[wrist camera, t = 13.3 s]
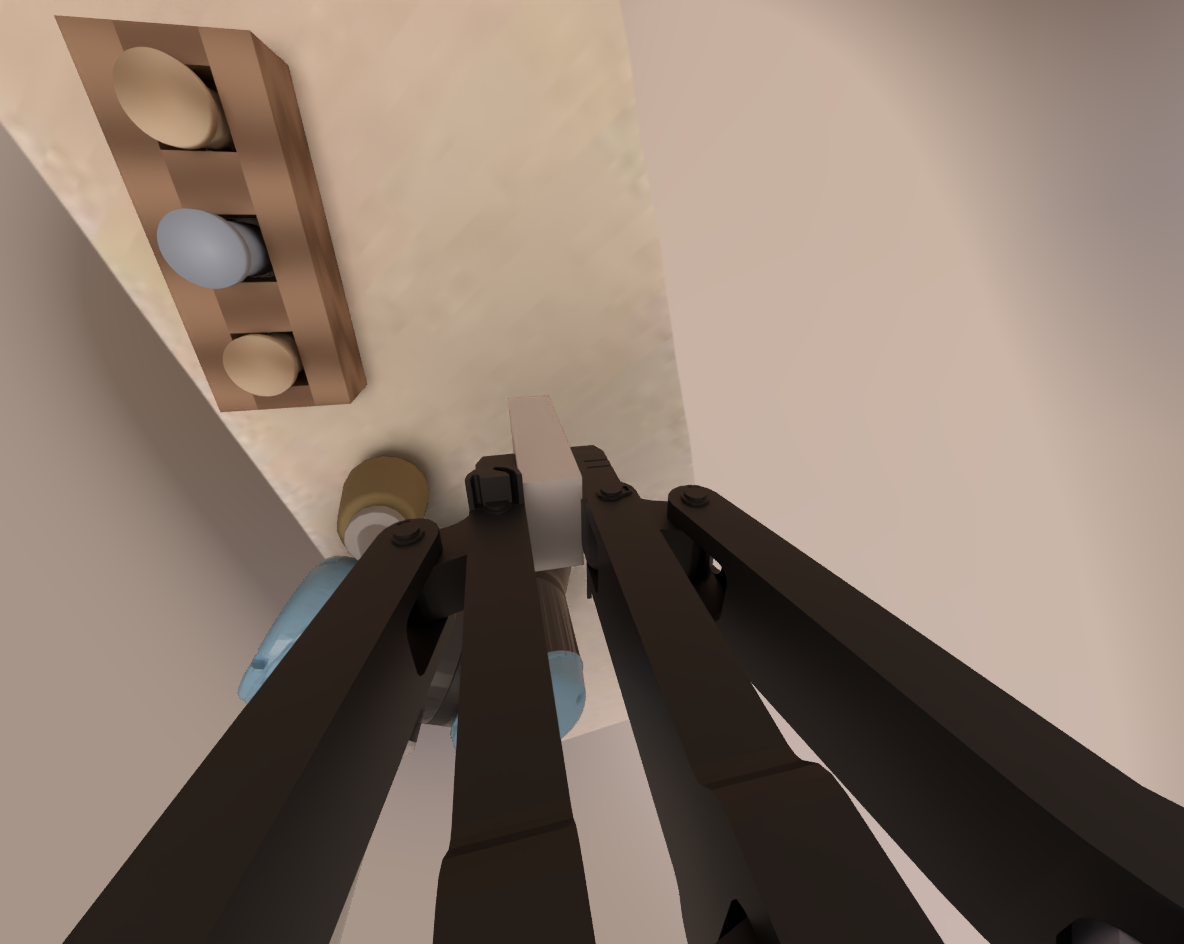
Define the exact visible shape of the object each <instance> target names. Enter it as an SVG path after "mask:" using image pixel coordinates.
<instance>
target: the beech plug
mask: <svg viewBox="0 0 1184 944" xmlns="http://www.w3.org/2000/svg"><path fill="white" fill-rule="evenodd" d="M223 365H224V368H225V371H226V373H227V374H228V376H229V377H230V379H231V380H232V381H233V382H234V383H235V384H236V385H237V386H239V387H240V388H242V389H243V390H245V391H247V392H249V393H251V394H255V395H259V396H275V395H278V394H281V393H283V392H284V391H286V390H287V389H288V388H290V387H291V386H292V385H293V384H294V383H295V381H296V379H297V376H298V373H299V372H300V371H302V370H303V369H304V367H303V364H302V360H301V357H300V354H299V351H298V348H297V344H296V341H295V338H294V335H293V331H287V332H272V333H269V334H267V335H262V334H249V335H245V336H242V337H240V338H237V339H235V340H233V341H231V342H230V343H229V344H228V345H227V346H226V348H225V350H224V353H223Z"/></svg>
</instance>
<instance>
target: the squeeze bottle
mask: <svg viewBox="0 0 1184 944" xmlns="http://www.w3.org/2000/svg"><path fill="white" fill-rule="evenodd" d="M428 498H429V487H428V484H427V481H426V479H425V476H424V475H423V474H422V473H421V472H420V471H419V469H418V468H417V467H416V466H415V465H414V464H411V463H409V462H407V461H405V460H403V459H401V458H397V457H386V456H380V457H377V458H373V459H369V460H365V461H364V462H362V463H361V464H360V465H358V466H357V467H356V468H354V469H353V470H352V471H351V472H350V474H349V476H348V478H347V479H346V481H345V483H344V487H343V492H342V497H341V502H340V508H339V513H338V521H337V532H338V534H339V537H340V539H341V541H342V543H343V545H345V546H346V548H347V551H348V553H350V554H351V555H352V556H353V557H354V558H355V559H357V560H359V559H360V558H361V556H362V555H363V554H364V552H365V551H366V550H367V549H368V547H369V546H370V545H371V543H372V542H373V541H374V539H375V538H376V537H377V536H378V534H380V533H381V532H382V531H383V530H384V529H385V528H387V527H389V526H390V525H392V524H394V523H396V522H399V521H404V520H406V519H416V518H421V519H423V518H424V515H425V511H426V508H427V505H428Z"/></svg>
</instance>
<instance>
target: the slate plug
mask: <svg viewBox="0 0 1184 944" xmlns="http://www.w3.org/2000/svg"><path fill="white" fill-rule="evenodd" d="M157 241H158V246H159V249H160V251H161V253H162V255H163V257H164V259H165V260H166V262H167V263H168V264H169V266H170V267H171V268H172V269H173V270H174V271H175V272H176V273H177V274H179V275H180V276H181V277H183V278H184V279H186V280H187V281H189V282H191V283H193V284H195V285H198V286H201V287H205V288H210V289H220V288H226V287H231V286H235V285H237V284H239V283H241V282H242V281H243V280H244V279H245V278H246V277H247V276H253V275H260V274H266V273H269V272H271V271H272V270H273V267H272V264H271V261H270V257H269V254H268V251H267V248H266V245H265V241H264V238H263V235H262V232H261V228H260V227H258V226H256V225H254V224H250V223H243V222H232V221H226V220H225V219H223V218H222V217H220V216H218V215H216V214H214V213H211V212H208V211H204V210H197V209H187V208H186V209H177V210H174V211H171V212H169V213H168V214H166V215H165V216H164V217H163V218H162V220H161V221H160V223H159V225H158V229H157Z"/></svg>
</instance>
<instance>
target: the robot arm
mask: <svg viewBox="0 0 1184 944" xmlns="http://www.w3.org/2000/svg"><path fill="white" fill-rule="evenodd" d="M508 402H509V412H510V422H511V432H512V442H513V453H514V454H505V455H495V456H484V457H482V458H481V459H480V460H479V462H478V463H477V464H476V469H475V470H473V471H472V472H471V473H469V474H468V475H467V476H466V478H465V485H466V491H467V498H468V504H469V510H470V511H469V516H468V517H467V518H466V519H464V520H463V521H461V522H459V523H457V524H455V525H452V526H450V527H446V528H443V529H440V530H439V528H438V526H437V524H436V523H434V522H433V521H431V520H428V519H421V518H416V519H406V520H404V521H399V522H396V523H394V524H392V525H390V526H389V527H387V528H385V529H384V530H383V531H382V532H381V533H380V534H378V536H377V537H376V538H375V539H374V541H373V542H372V543H371V545H370V546H369V547H368V549H367V550H366V551H365V552H364V554H363V555H362V556H361V558H360V559H359V560H357V559H355V558H351V557H347V556H333V557H330V558H327V559H325V560H323V561H322V562H320V563H319V564H317V565H316V566H315V567H314V568H313V569H312V570H311V571H310V573H309V574H308V575H307V576H306V577H305V579H304V580H303V581H302V582H301V584H300V585H299V587H298V588H297V589H296V591H295V592H294V593H293V595H292V596H291V598H290V599H289V601H288V602H287V604H286V605H285V607H284V608H283V610H282V611H281V613H280V614H279V616H278V617H277V619H276V620H275V622H274V623H273V625H272V627H271V628H270V630H269V632H268V633H267V635H266V636H265V638H264V640H263V642H262V643H261V645H260V647H259V649H258V653H257V655H255V657H254V659H253V661H252V663H251V665H250V666H249V667H248V669H247V670H246V672H245V674H244V676H243V678H242V680H241V683H240V685H239V688H238V696H239V698H240V699H241V700H243V701H245V703H246V704H247V705H246V707H245V708H244V709H243V710H242V712H241V713H240V714H239V716H238V717H237V718H236V719H235V721H234V722H233V723H232V725H231V726H230V727H229V728H228V730H227V731H226V732H225V734H224V735H223V737H222V738H221V739H220V740H219V741H218V743H217V744H216V745H215V747H214V748H213V749H212V750H211V752H210V753H209V754H208V756H207V757H206V758H205V760H204V761H203V762H202V763H201V765H200V766H199V767H198V769H197V770H196V771H195V773H194V774H193V775H192V776H191V778H190V779H189V780H188V782H187V783H186V784H185V785H184V787H183V788H182V789H181V791H180V792H179V793H178V795H177V796H176V797H175V798H174V800H173V801H172V802H171V804H170V805H169V806H168V807H167V809H166V810H165V811H164V813H163V814H162V815H161V817H160V818H159V819H158V820H157V822H156V823H155V824H154V826H153V827H152V828H151V830H150V831H149V832H148V833H147V835H146V836H145V837H144V838H143V840H142V841H141V842H140V844H139V845H138V846H137V848H136V849H135V850H134V851H133V853H132V854H131V855H130V857H129V858H128V860H127V861H126V862H125V863H124V864H123V866H122V867H121V868H120V870H119V871H118V872H117V873H116V875H115V876H114V877H113V879H112V880H111V881H110V882H109V884H108V885H107V886H106V888H105V889H104V890H103V892H102V893H101V894H100V895H99V897H98V898H97V899H96V901H95V902H94V903H93V904H92V906H91V907H90V908H89V910H88V911H87V912H86V914H85V915H84V916H83V917H82V919H81V920H80V921H79V923H78V924H77V925H76V926H75V928H74V929H73V930H72V932H71V933H70V934H69V936H68V937H67V938H66V939H65V941H64V942H63V944H340V940H341V937H342V933H343V929H344V925H345V922H346V919H347V915H348V911H349V908H350V904H351V900H352V897H353V893H354V890H355V886H356V883H357V879H358V875H359V872H360V868H361V865H362V861H363V857H364V854H365V851H366V849H367V846H368V843H369V840H370V838H371V836H372V833H373V831H374V828H375V826H376V823H377V820H378V818H379V815H380V812H381V810H382V808H383V805H384V803H385V800H386V798H387V795H388V792H389V790H390V787H391V785H392V782H393V780H394V777H395V774H396V772H397V769H398V767H399V764H400V762H401V760H402V759H403V758H404V757H405V756H407V755H408V754H409V753H410V752H411V751H412V750H414V749H415V746H416V742H417V737H418V734H419V730H420V726H421V724H422V723H424V724H432V725H440V726H446V727H451V733H450V734H451V739H452V742H453V744H454V747H455V749H456V760H455V776H454V794H453V813H452V829H451V840H450V845H449V850H448V852H447V853H446V855H445V856H444V858H443V860H442V864H441V869H440V873H439V879H438V888H437V897H436V908H435V921H434V935H433V944H596V943H595V936H594V930H593V924H592V918H591V912H590V905H589V899H588V892H587V886H586V880H585V873H584V867H583V861H582V855H581V849H580V843H579V838H578V833H577V828H576V824H575V821H574V818H573V814H572V808H571V802H570V796H569V789H568V783H567V776H566V770H565V763H564V757H563V750H562V744H561V739H562V738H563V737H564V736H565V735H566V734H567V733H568V732H569V731H570V730H571V729H572V728H573V727H574V725H575V724H576V722H577V721H578V719H579V718H580V716H581V714H582V711H583V708H584V705H585V699H586V691H585V684H584V677H583V662H582V660H581V658H580V654H579V650H578V646H577V642H576V638H575V634H574V630H573V626H572V622H571V618H570V613H569V609H568V605H567V601H566V597H565V594H566V589H567V584H568V580H569V575H570V570H571V566H577V565H584V558H583V551H584V554H585V557H586V560H587V599H590V598H591V595H593V599H594V602H595V606H596V609H597V612H598V616H599V619H600V622H601V626H602V629H603V632H604V636H605V639H606V643H607V646H608V649H609V653H610V656H611V659H612V663H613V666H614V669H615V673H616V676H617V680H618V683H619V686H620V690H621V693H622V696H623V700H624V703H625V706H626V710H627V713H628V717H629V720H630V723H631V726H632V730H633V733H634V737H635V740H636V743H637V746H638V750H639V753H640V757H641V760H642V764H643V767H644V770H645V774H646V777H647V780H648V784H649V787H650V790H651V793H652V797H653V800H654V804H655V807H656V811H657V814H658V817H659V821H660V824H661V827H662V831H663V834H664V838H665V841H666V844H667V848H668V851H669V854H670V858H671V861H672V864H673V868H674V871H675V875H676V879H677V884H678V889H679V895H680V902H681V910H682V918H683V923H684V928H685V932H686V938H687V941H688V944H944V943H943V941H942V939H941V938H940V936H939V935H938V933H937V932H936V930H935V929H934V927H933V925H932V924H931V922H930V921H929V919H928V918H927V916H926V915H925V913H924V911H923V910H922V908H921V907H920V905H919V904H918V902H917V901H916V899H915V898H914V896H913V895H912V893H911V892H910V890H909V888H908V887H907V886H906V884H905V882H904V881H903V879H902V878H901V876H900V875H899V873H898V872H897V870H896V869H895V867H894V865H893V864H892V862H891V861H890V859H889V858H888V856H887V855H886V853H885V852H884V850H883V849H882V847H881V846H880V844H879V842H878V841H877V839H876V838H875V836H874V835H873V833H872V832H871V830H870V829H869V827H868V826H867V824H866V822H865V821H864V819H863V818H862V817H861V815H860V813H859V812H858V811H857V809H856V807H855V806H854V804H853V803H852V801H851V799H850V798H849V796H848V795H847V793H846V792H845V791H844V789H843V788H842V787H841V785H840V784H839V783H838V782H837V780H836V779H835V778H834V776H833V775H832V774H831V773H830V772H829V771H827V770H826V769H825V768H824V767H822V766H821V765H820V764H819V763H815V762H809V761H804V760H801V759H800V758H799V757H798V756H796V755H795V754H794V752H793V751H792V749H791V748H790V747H789V745H788V744H787V742H786V741H785V739H784V737H783V735H782V734H781V732H780V730H779V729H778V727H777V726H776V724H775V722H774V720H773V719H772V717H771V715H770V714H769V712H768V710H767V709H766V707H765V706H764V704H763V702H762V700H761V699H760V697H759V695H758V694H757V692H756V690H755V689H754V687H753V685H754V686H755V687H756V688H757V689H758V691H759V692H760V693H761V694H762V695H763V696H764V697H765V698H766V699H767V700H768V702H769V703H770V704H771V705H772V706H773V707H774V708H775V709H776V710H777V712H778V713H779V714H780V715H781V716H782V717H783V718H784V719H785V720H786V721H787V723H788V724H789V725H790V726H791V727H792V728H793V729H794V730H795V731H796V733H797V734H798V735H799V736H800V737H801V738H802V739H803V740H804V741H805V743H806V744H807V745H808V746H809V747H810V748H811V749H812V750H813V751H814V752H815V754H816V755H817V756H818V757H819V758H820V759H821V760H822V761H823V762H824V764H825V765H826V766H827V767H828V768H829V769H830V770H831V771H832V772H833V774H834V775H835V776H836V777H837V778H838V779H839V780H840V781H841V782H842V783H843V785H844V786H845V787H846V788H847V789H848V790H849V791H850V792H851V794H852V795H853V796H854V797H855V798H856V799H857V800H858V801H859V802H860V804H861V805H862V806H863V807H864V808H865V809H866V810H867V811H868V812H869V813H870V815H871V816H872V817H873V818H874V819H875V820H876V821H877V822H878V823H879V824H880V826H881V827H882V828H883V829H884V830H885V831H886V832H887V833H888V835H889V836H890V837H891V838H892V839H893V840H894V841H895V842H896V843H897V844H898V846H899V847H900V848H901V849H902V850H903V851H904V852H905V853H906V854H907V856H908V857H909V858H910V859H911V860H912V861H913V862H914V863H915V864H916V866H917V867H918V868H919V869H920V870H921V871H922V872H923V873H924V874H925V875H926V877H927V878H928V879H929V880H930V881H931V882H932V883H933V884H934V885H935V887H936V888H937V889H938V890H939V891H940V892H941V893H942V894H943V895H944V896H945V897H946V898H947V899H948V901H949V902H950V903H951V904H952V905H953V906H954V907H955V908H956V909H957V910H958V911H959V912H960V913H961V914H962V915H963V916H964V917H965V918H966V919H967V920H968V921H969V922H970V924H971V925H972V926H973V927H974V928H975V929H976V930H977V931H978V932H979V933H980V934H981V935H982V936H983V937H984V938H985V939H986V940H987V941H988V942H989V943H990V944H1184V807H1182V806H1180V805H1178V804H1176V803H1174V802H1172V801H1170V800H1168V799H1166V798H1164V797H1162V796H1160V795H1158V794H1157V793H1155V792H1152V791H1151V790H1148V789H1147V788H1145V787H1143V786H1141V785H1140V784H1138V783H1137V782H1135V781H1134V780H1132V779H1131V778H1130V777H1128V776H1127V775H1125V774H1124V773H1122V772H1121V771H1119V770H1118V769H1116V768H1115V767H1114V766H1112V765H1110V764H1109V763H1108V762H1106V761H1105V760H1103V759H1102V758H1101V757H1099V756H1098V755H1096V754H1095V753H1093V752H1092V751H1090V750H1089V749H1087V748H1086V747H1085V746H1083V745H1082V744H1080V743H1079V742H1077V741H1076V740H1074V739H1073V738H1072V737H1070V736H1069V735H1067V734H1066V733H1064V732H1063V731H1061V730H1060V729H1058V728H1057V727H1056V726H1054V725H1053V724H1051V723H1050V722H1048V721H1047V720H1045V719H1044V718H1042V717H1041V716H1040V715H1038V714H1037V713H1035V712H1034V711H1032V710H1031V709H1029V708H1028V707H1027V706H1025V705H1024V704H1022V703H1021V702H1019V701H1018V700H1016V699H1015V698H1014V697H1012V696H1011V695H1009V694H1008V693H1006V692H1005V691H1003V690H1002V689H1000V688H999V687H998V686H996V685H995V684H993V683H992V682H990V681H989V680H987V679H986V678H985V677H983V676H982V675H980V674H978V673H977V672H976V671H974V670H973V669H971V668H970V667H969V666H967V665H966V664H964V663H963V662H961V661H960V660H958V659H957V658H955V657H954V656H953V655H951V654H950V653H948V652H947V651H945V650H944V649H942V648H941V647H940V646H938V645H937V644H935V643H934V642H932V641H931V640H929V639H928V638H927V637H925V636H924V635H922V634H921V633H919V632H918V631H916V630H915V629H913V628H912V627H911V626H909V625H908V624H906V623H905V622H903V621H902V620H900V619H899V618H898V617H896V616H895V615H893V614H892V613H890V612H889V611H887V610H886V609H884V608H883V607H881V606H880V605H879V604H877V603H876V602H874V601H873V600H871V599H870V598H868V597H867V596H866V595H864V594H863V593H861V592H859V591H858V590H857V589H855V588H854V587H852V586H851V585H850V584H848V583H847V582H845V581H844V580H842V579H841V578H839V577H838V576H836V575H835V574H833V573H832V572H831V571H829V570H828V569H826V568H825V567H823V566H822V565H821V564H819V563H818V562H816V561H815V560H813V559H812V558H810V557H809V556H808V555H806V554H805V553H803V552H802V551H800V550H799V549H797V548H796V547H795V546H793V545H792V544H790V543H789V542H787V541H786V540H784V539H783V538H781V537H780V536H779V535H777V534H776V533H774V532H773V531H771V530H770V529H768V528H767V527H766V526H764V525H763V524H761V523H759V522H758V521H757V520H755V519H754V518H752V517H751V516H750V515H748V514H747V513H745V512H744V511H742V510H741V509H739V508H738V507H736V506H735V505H734V504H732V503H731V502H729V501H728V500H726V499H725V498H723V497H722V496H720V495H719V494H718V493H716V492H714V491H712V490H710V489H708V488H704V487H701V486H698V485H694V486H693V485H686V486H679V487H677V488H675V489H672V490H671V492H670V493H669V494H668V502H667V501H652V500H645V499H641V498H640V496H639V495H638V493H637V491H636V490H635V489H634V488H633V487H632V486H630V485H628V484H626V483H623V482H620V480H619V478H618V477H617V475H616V473H615V471H614V469H613V468H612V466H611V464H610V462H609V461H608V460H607V457H606V455H605V453H604V452H603V451H602V450H601V449H599V448H597V447H596V446H594V445H588V446H578V447H570V446H569V444H568V441H567V439H566V437H565V434H564V432H563V429H562V427H561V424H560V422H559V419H558V417H557V415H556V412H555V410H554V407H553V405H552V402H551V400H550V397H549V395H546V396H532V397H518V398H508ZM713 558H714V559H715V560H716V561H717V562H718V563H719V564H720V565H721V567H722V569H721V571H720V570H718V569H717V568H716V567H715V566H714V565H712V564H713ZM751 683H752V684H753V685H752V684H751Z"/></svg>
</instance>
